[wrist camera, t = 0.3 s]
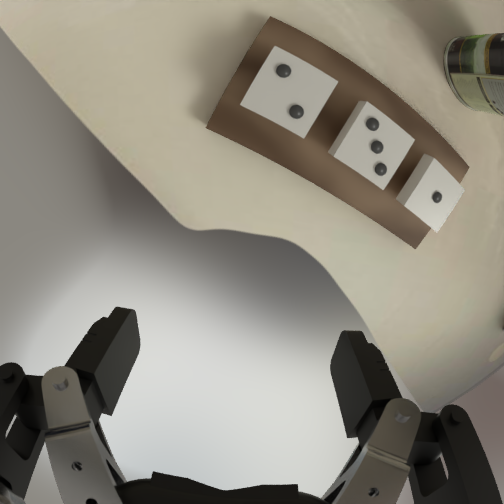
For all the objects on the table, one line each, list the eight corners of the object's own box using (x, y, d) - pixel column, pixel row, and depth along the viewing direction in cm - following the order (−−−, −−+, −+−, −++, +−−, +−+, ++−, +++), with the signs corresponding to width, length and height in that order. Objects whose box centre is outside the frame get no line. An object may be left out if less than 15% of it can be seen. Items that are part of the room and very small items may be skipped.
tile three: (359, 100, 22) (367, 101, 20) (405, 136, 23) (416, 140, 21) (327, 152, 25) (333, 156, 23) (375, 184, 26) (384, 190, 24)
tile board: (269, 21, 21) (270, 16, 19) (460, 162, 27) (469, 167, 26) (208, 126, 27) (205, 127, 25) (408, 241, 33) (415, 249, 31)
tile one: (424, 153, 24) (435, 158, 22) (455, 184, 25) (466, 190, 23) (395, 198, 27) (404, 206, 25) (428, 225, 28) (437, 233, 26)
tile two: (272, 49, 20) (275, 45, 18) (332, 82, 21) (339, 81, 19) (240, 104, 23) (239, 104, 21) (300, 135, 24) (304, 138, 22)
